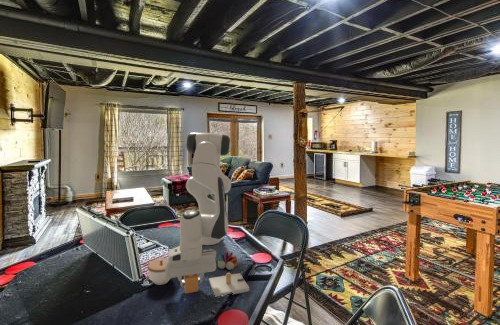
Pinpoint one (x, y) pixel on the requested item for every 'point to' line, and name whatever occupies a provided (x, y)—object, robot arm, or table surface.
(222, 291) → the plate
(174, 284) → the table surface
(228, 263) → the rainbow segmented toy
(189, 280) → the orange cube with dome
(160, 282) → the lidded jar
